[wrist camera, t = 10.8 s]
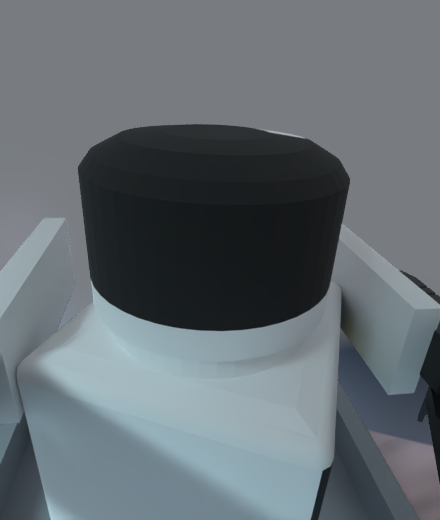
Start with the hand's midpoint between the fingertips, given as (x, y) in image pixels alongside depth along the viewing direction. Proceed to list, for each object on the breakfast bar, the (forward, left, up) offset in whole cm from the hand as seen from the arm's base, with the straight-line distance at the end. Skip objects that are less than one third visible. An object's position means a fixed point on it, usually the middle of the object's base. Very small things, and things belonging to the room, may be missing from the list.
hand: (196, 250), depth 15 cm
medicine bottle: (0, -4, -7) cm, 8 cm away
